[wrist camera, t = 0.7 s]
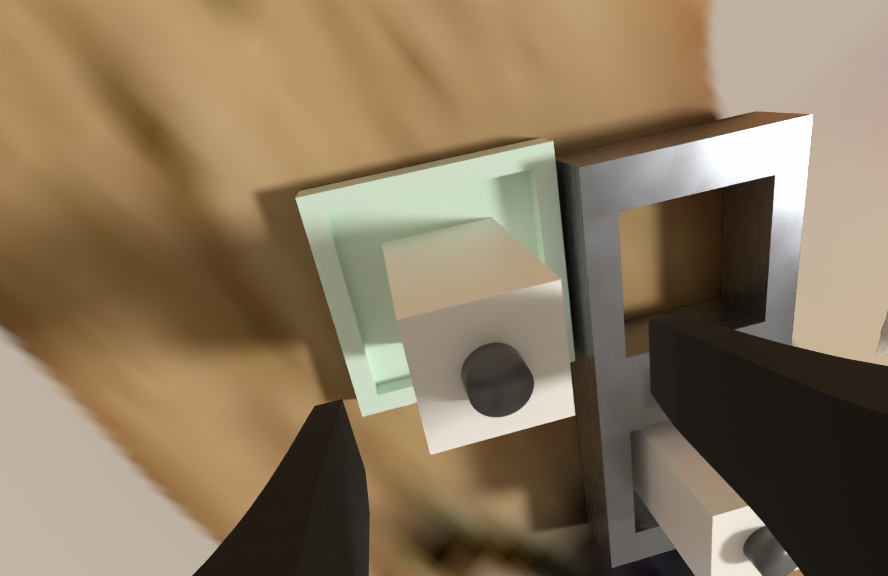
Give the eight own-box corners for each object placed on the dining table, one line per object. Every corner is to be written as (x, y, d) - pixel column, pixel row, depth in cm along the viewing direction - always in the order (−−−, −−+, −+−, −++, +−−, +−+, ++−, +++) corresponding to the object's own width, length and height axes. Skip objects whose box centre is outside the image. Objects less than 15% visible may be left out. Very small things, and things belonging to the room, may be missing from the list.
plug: (507, 316, 19) (588, 434, 13) (405, 342, 19) (434, 476, 12) (492, 217, 18) (575, 292, 11) (381, 242, 18) (399, 335, 11)
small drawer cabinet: (736, 480, 26) (786, 530, 23) (587, 523, 25) (619, 581, 22) (755, 111, 19) (831, 115, 16) (549, 157, 18) (588, 171, 15)
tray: (563, 346, 21) (575, 361, 20) (361, 398, 20) (362, 416, 19) (540, 137, 18) (553, 140, 17) (298, 191, 17) (295, 197, 16)
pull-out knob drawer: (700, 451, 25) (829, 584, 18) (622, 473, 24) (725, 618, 18) (701, 383, 23) (842, 501, 16) (618, 405, 23) (729, 536, 16)
